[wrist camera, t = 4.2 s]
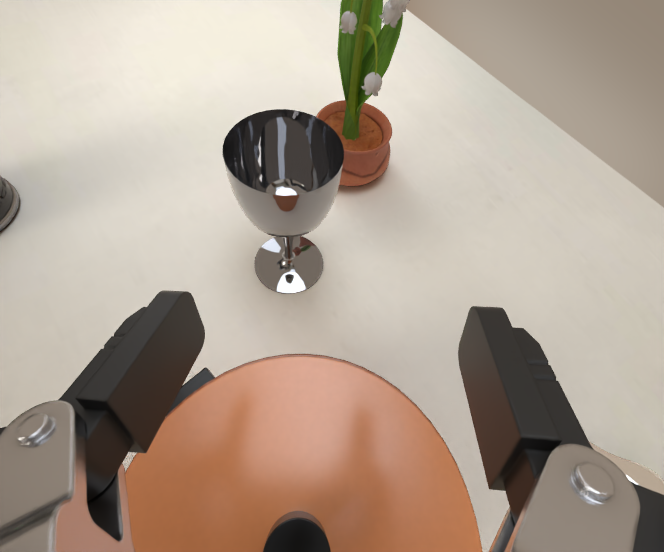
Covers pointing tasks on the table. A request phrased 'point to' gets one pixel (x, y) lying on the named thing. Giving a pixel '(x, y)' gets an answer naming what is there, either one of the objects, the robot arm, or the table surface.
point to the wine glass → (285, 189)
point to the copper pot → (297, 466)
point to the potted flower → (364, 86)
